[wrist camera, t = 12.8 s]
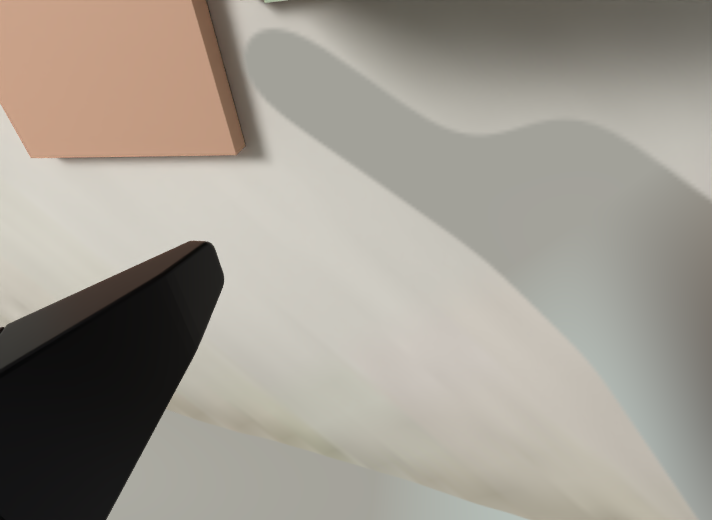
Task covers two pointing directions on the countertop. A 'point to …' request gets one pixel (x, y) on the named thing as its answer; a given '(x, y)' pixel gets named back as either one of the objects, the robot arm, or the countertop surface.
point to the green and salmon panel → (115, 79)
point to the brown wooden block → (272, 0)
